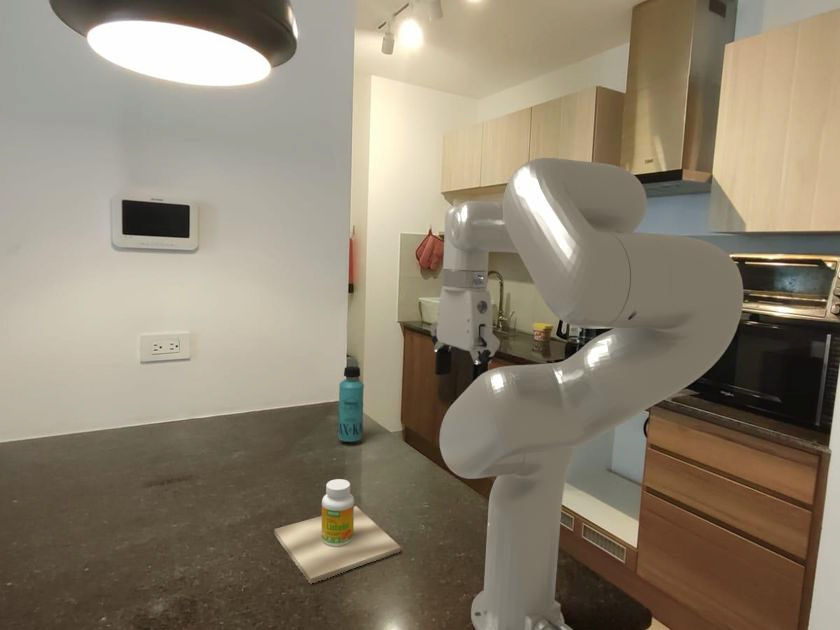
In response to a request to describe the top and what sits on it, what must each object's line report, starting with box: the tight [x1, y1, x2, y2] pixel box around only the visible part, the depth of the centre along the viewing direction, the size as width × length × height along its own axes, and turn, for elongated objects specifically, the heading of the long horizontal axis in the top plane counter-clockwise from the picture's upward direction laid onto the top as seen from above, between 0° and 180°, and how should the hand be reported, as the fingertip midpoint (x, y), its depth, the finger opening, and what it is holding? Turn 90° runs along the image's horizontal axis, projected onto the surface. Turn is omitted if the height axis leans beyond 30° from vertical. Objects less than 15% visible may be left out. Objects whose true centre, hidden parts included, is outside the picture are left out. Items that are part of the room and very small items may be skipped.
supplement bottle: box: [321, 478, 355, 546], centre depth 87 cm, size 5×5×10 cm
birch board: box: [273, 505, 402, 585], centre depth 88 cm, size 16×16×1 cm
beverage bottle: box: [337, 366, 365, 442], centre depth 133 cm, size 6×7×20 cm
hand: (459, 380), depth 89 cm, fingers open, 9 cm apart
